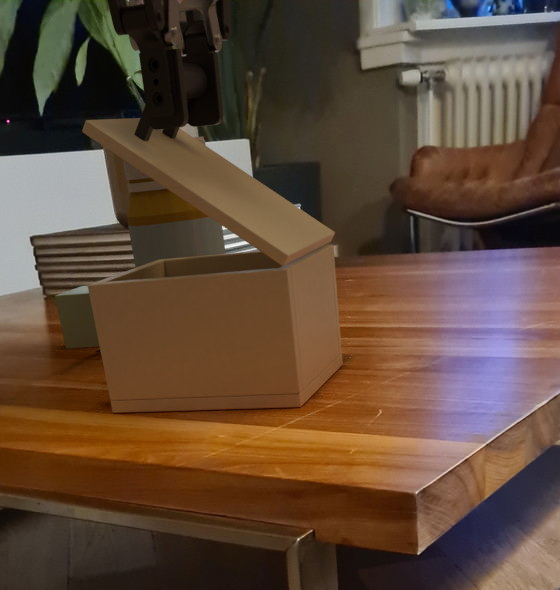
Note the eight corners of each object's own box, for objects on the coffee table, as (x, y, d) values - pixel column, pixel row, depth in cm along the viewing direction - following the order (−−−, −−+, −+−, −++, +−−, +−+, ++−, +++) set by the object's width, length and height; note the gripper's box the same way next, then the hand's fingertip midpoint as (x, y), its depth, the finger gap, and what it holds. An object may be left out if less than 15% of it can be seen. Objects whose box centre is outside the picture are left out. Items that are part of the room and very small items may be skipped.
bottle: (253, 345, 73) (227, 133, 66) (176, 364, 69) (140, 143, 63) (210, 337, 78) (181, 140, 71) (136, 355, 75) (99, 149, 68)
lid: (81, 131, 51) (113, 39, 48) (158, 127, 59) (189, 49, 57) (283, 266, 51) (326, 182, 48) (330, 242, 60) (369, 170, 57)
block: (66, 353, 79) (54, 295, 77) (92, 341, 83) (81, 286, 81) (116, 351, 77) (105, 291, 75) (140, 338, 81) (130, 282, 79)
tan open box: (112, 413, 58) (86, 285, 55) (176, 372, 67) (158, 259, 64) (300, 407, 54) (287, 268, 51) (343, 364, 63) (333, 244, 60)
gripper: (136, -203, 53) (176, 129, 61) (1, -291, 41) (73, 136, 49) (259, -230, 51) (284, 119, 59) (153, -331, 39) (202, 124, 47)
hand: (187, 125), depth 54 cm, fingers closed on lid, 5 cm apart
